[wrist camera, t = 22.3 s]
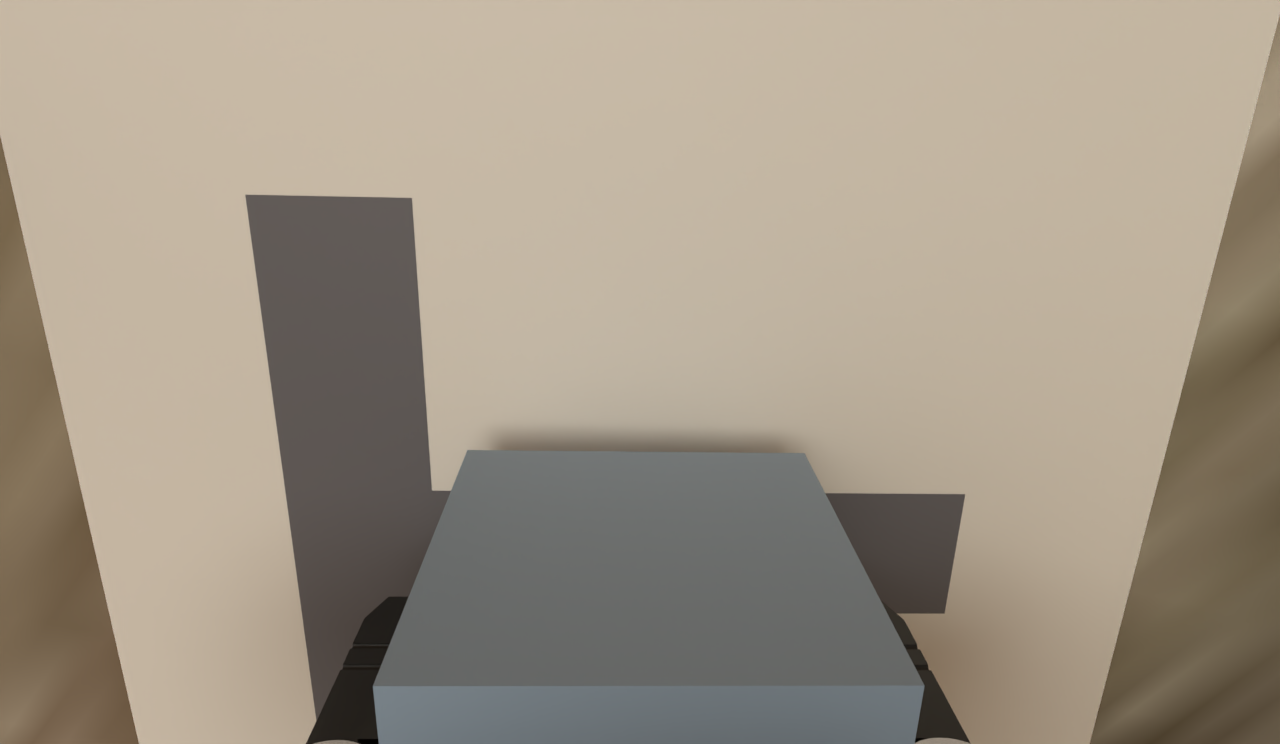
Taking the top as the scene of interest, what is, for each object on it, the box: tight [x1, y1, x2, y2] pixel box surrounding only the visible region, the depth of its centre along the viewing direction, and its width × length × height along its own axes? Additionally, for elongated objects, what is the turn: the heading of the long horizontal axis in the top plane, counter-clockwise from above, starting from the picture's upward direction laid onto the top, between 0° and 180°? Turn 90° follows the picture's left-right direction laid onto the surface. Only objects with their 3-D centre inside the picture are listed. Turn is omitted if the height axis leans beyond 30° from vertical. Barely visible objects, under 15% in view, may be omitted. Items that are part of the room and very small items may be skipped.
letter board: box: [0, 0, 1280, 744], centre depth 14 cm, size 18×18×1 cm
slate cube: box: [373, 450, 925, 744], centre depth 11 cm, size 5×5×5 cm
